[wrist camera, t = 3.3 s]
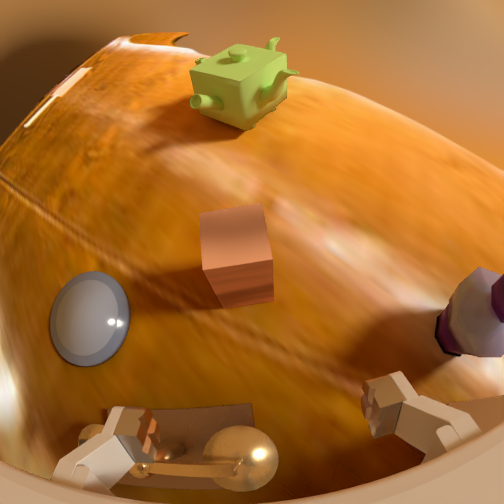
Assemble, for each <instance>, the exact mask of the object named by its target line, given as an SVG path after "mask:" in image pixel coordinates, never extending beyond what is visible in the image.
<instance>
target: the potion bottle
mask: <svg viewBox="0 0 504 504" xmlns="http://www.w3.org/2000/svg"><path fill="white" fill-rule="evenodd" d="M435 338H436V340H437V342H438V343H439V345H440V347H441V349H442V350H443V352H444V353H445V354H450V355H454V356H459V357H460V356H461V355H462V354H468V355H473V356H477V357H502V355H503V354H504V274H503V275H500V274H498V273H495V272H492V271H489V270H486V269H484V268H481V267H478V268H477V269H476V270H475V271H474V272H473V273H471V274H470V275H469V276H468V277H467V278H466V279H464V280H463V281H462V282H461V283H460V284H459V285H458V287H457V288H456V290H455V292H454V293H453V295H452V296H451V298H450V299H449V304H448V306H447V307H446V308H445V310H444V311H443V313H442V314H440V315H439V316H438V317H437V323H436V330H435Z"/></svg>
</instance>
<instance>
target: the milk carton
mask: <svg viewBox="0 0 504 504" xmlns="http://www.w3.org/2000/svg"><path fill="white" fill-rule="evenodd" d="M448 406H450V407H453V408H455V409H458V410H460V411H463V412H466V413H468V414H469V415H470V416H471V417H472V419H473V420H474V421H475V423H476V424H477V425H478V427H479V428H480V430H481V431H482V432H483V433H485V432H486V431H488V430H490V429H491V428H493V427H495V426H496V425H498V424H499V423H501V422H502V421H504V395H501V396H496V397H490V398H483V399H476V400H469V401H460V402H451V403H449V405H448Z"/></svg>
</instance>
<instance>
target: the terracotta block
mask: <svg viewBox="0 0 504 504" xmlns="http://www.w3.org/2000/svg"><path fill="white" fill-rule="evenodd" d="M199 216H200V236H201V253H202V268H203V272H204V274H205V276H206V278H207V279H208V281H209V283H210V285H211V287H212V289H213V291H214V292H215V294H216V296H217V298H218V300H219V302H220V303H221V305H222V307H223V309H224V308H231V307H238V306H244V305H251V304H257V303H264V302H270V301H274V285H273V259H272V253H271V248H270V243H269V238H268V233H267V227H266V222H265V217H264V212H263V207H262V203H260V204H254V205H247V206H241V207H235V208H228V209H222V210H216V211H211V212H205V213H199Z"/></svg>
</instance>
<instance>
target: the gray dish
mask: <svg viewBox="0 0 504 504" xmlns="http://www.w3.org/2000/svg"><path fill="white" fill-rule="evenodd" d="M129 324H130V305H129V301H128V297H127V295H126V293H125V291H124V289H123V288H122V286H121V285H120V284H119V283H118V282H117V281H116V280H115V279H113V278H112V277H111V276H109V275H107V274H105V273H102V272H96V271H92V272H86V273H83V274H80V275H78V276H76V277H74V278H73V279H72V280H70V281H69V282H68V283H67V284H66V285H65V286H64V287H63V288H62V290H61V291H60V292H59V294H58V296H57V298H56V300H55V302H54V305H53V308H52V311H51V317H50V332H51V337H52V340H53V343H54V345H55V347H56V349H57V351H58V352H59V353H60V355H61V356H62V357H63V358H64V359H66V360H67V361H69V362H70V363H73V364H75V365H79V366H83V367H93V366H97V365H100V364H103V363H104V362H106V361H108V360H109V359H110V358H112V357H113V356H114V355H115V354H116V353H117V352H118V350H119V349H120V347H121V346H122V344H123V342H124V340H125V338H126V336H127V333H128V329H129Z"/></svg>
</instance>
